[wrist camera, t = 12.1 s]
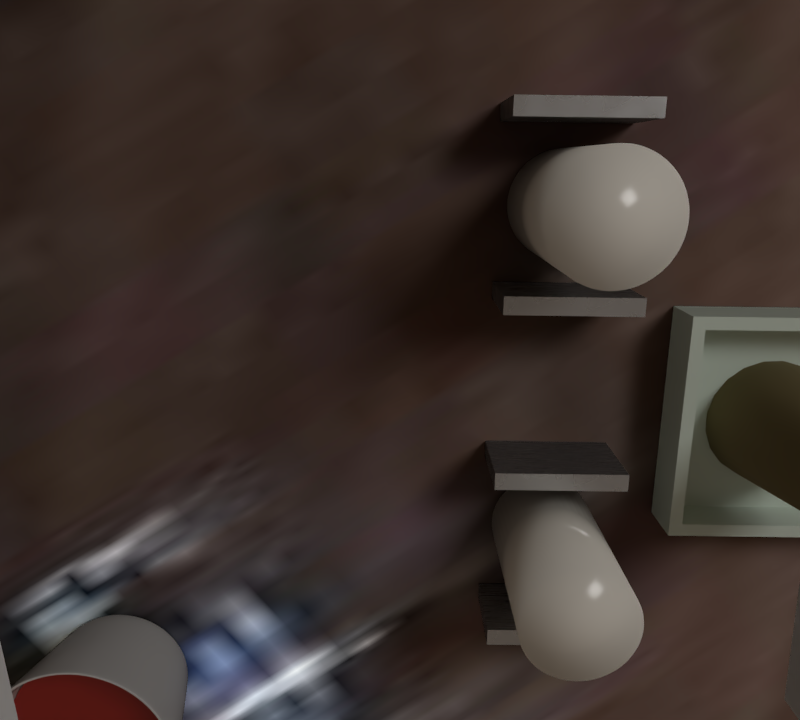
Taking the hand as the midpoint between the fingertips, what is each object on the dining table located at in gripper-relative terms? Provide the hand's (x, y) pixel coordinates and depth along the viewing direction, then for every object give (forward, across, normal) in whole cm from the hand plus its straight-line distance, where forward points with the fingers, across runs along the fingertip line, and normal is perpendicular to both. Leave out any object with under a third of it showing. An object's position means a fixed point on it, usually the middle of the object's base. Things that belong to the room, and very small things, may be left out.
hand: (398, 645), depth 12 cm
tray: (+24, +18, -6) cm, 31 cm away
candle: (+24, -16, -19) cm, 34 cm away
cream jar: (+24, +8, +5) cm, 26 cm away
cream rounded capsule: (+24, +7, -11) cm, 27 cm away
